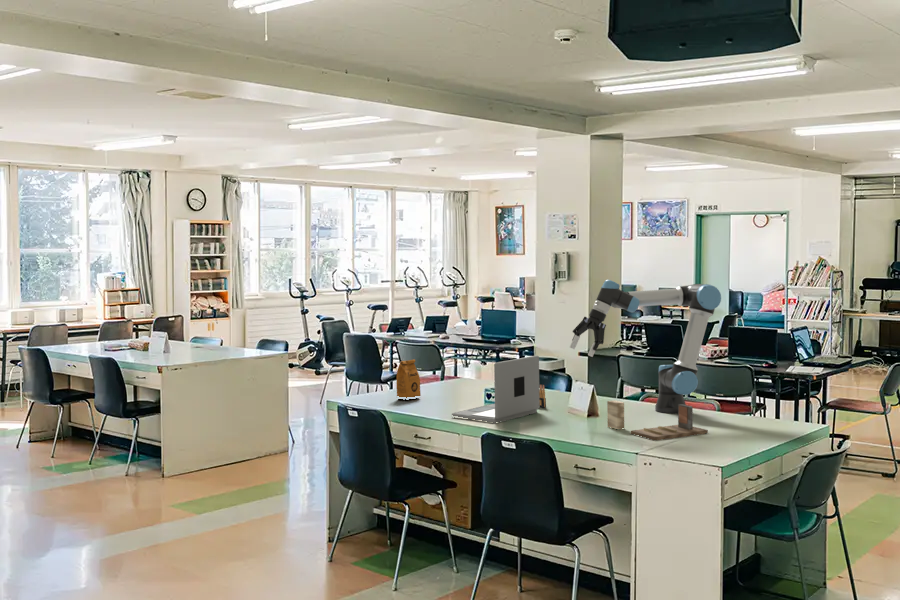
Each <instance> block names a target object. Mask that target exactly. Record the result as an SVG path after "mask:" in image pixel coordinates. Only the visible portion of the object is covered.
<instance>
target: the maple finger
mask: <svg viewBox="0 0 900 600" xmlns="http://www.w3.org/2000/svg"><path fill="white" fill-rule="evenodd" d="M606 403H607V404H606V405H607V411H606V412H607V428H608V427H611V428H610V429H612V428H615V429H621V430H623V429H622V428H624V429H625V402H623V401H619V400H615V399H614V400H607V401H606ZM615 429H614V430H615Z"/></svg>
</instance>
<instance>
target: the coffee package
mask: <svg viewBox="0 0 900 600" xmlns="http://www.w3.org/2000/svg"><path fill="white" fill-rule="evenodd" d="M415 363H416V359H409V360H401V361H400V362H399V364H398V367H397V371H396V385H395V386H396V397H397V396H399V397H406V398H407V397H415V396H421V397H422V395H421V378H420V374H419V371H418V370H417V367H416V364H415Z"/></svg>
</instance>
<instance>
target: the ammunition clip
mask: <svg viewBox="0 0 900 600" xmlns="http://www.w3.org/2000/svg"><path fill="white" fill-rule="evenodd" d="M545 391H546V389H545V385H544V384H540V383H539V402H540V408H539V409H546V408H547V401H546V400H547V397H546V392H545Z"/></svg>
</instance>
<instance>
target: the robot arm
mask: <svg viewBox="0 0 900 600" xmlns="http://www.w3.org/2000/svg"><path fill="white" fill-rule="evenodd" d="M620 286H621V285H620V284H619V283H618V282H615V281H613V280H611V279H606V280H605V281H604V282H603V284H602V286H601V287H600V290H599V292H598V294H597V296H596V299H595V301H594V304H593V306H592V308H591V310H590V312H589V314H588V315H589V317H587V316H584V317H583V318H582V320H581V321H580V322H579V323H578V324H577V326H576V327H575V328H574V329H573V330H572V333H573V334H574V335H573V338H572V340H571V343H570V345H569V348H570V349H573V350H575V349H576V347H577V345H578V342H579V340H580V338H581V336H582V334H584V333H585V332H586V331H588V330H592V331H593V335H594V341H593V343H592V345H591V347H590V348H589V351H588V353H587V355H588V356H589V357H591V358H593V357H594V354H595V352H596V351H597V350H598V347H599V345H604V344H605V343H604V342H605V341H604V340H605V330H606V328H607V327H606V326H607V325H606V324H605V323H603V322H605V319H606V318H607V314H608V313H609V312H610V308H611V307H612V308H614V309H621V310H625V311H626V312H629V313H635V312H636V311H637V310H638V308H639V307H648V306H649V307H650V306H651V307H652V306H664V305H665V306H666V305H677V306H678V307H682V306H683V307H688V309H689V311H690V314H689V319H688V323H687V326H686V331H685V334H684V337H683V341H682V345H681V348H680V352H679V354H678V358H677V359H678V360H676V361H675V362H673V364H660V365H659V366H658V396H657V400H656V404H655V407H654V408H655V409H654V410H655V411H656V412H658V413H666V414H678V405H680V404H683V405H687V404H686V401H685V398H684V396H685V395H691V394H693V392H695V391H696V389H697V387H698V385H699V380H698V377H697V374H698V371H699V369H698V367H697V361H698V358H699V354H700V350H701V349H702V348H701V347H702V344H703V341H704V340H703V339H704V336H705V333H706V330H707V325H708V322H709V319H710V317H711V316H714V313H715V310H716V308H718V307H719V306H720V304H721V302H722V294H721V292H720V290H719V288H718V287H716V286H714V285H711V284H707V283H706V284H704V283H694V284H688V285H681V286H680V285H679V286H677V287H676V288H670V289H669V288H668V289H667V288H666V289H653V290H652V289H651V290H637V291H635V290H634V291H624V290H621V289H620Z"/></svg>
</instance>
